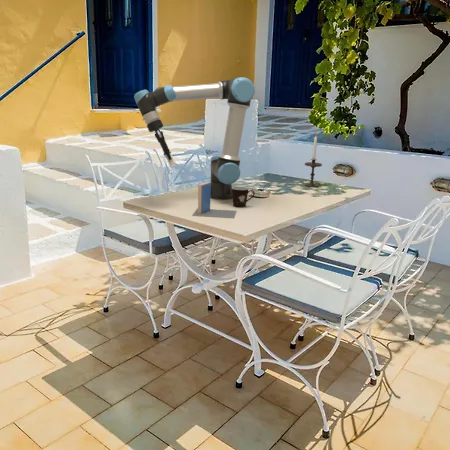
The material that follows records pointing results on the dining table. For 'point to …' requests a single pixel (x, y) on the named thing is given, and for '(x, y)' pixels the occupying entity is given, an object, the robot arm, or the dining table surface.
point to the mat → (216, 213)
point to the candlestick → (313, 165)
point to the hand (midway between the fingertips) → (173, 166)
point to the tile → (204, 197)
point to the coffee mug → (240, 196)
